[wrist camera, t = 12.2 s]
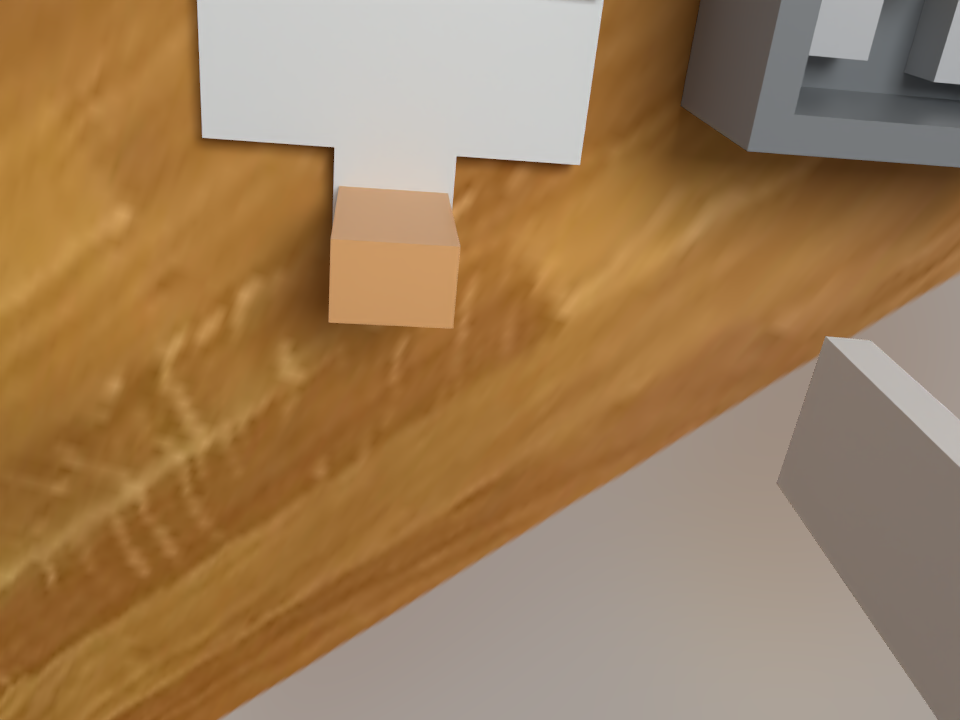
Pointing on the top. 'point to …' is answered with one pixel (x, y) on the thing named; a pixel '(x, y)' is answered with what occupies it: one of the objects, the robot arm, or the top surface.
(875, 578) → the robot arm
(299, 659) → the top surface
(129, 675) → the top surface
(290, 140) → the lid
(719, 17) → the tub
